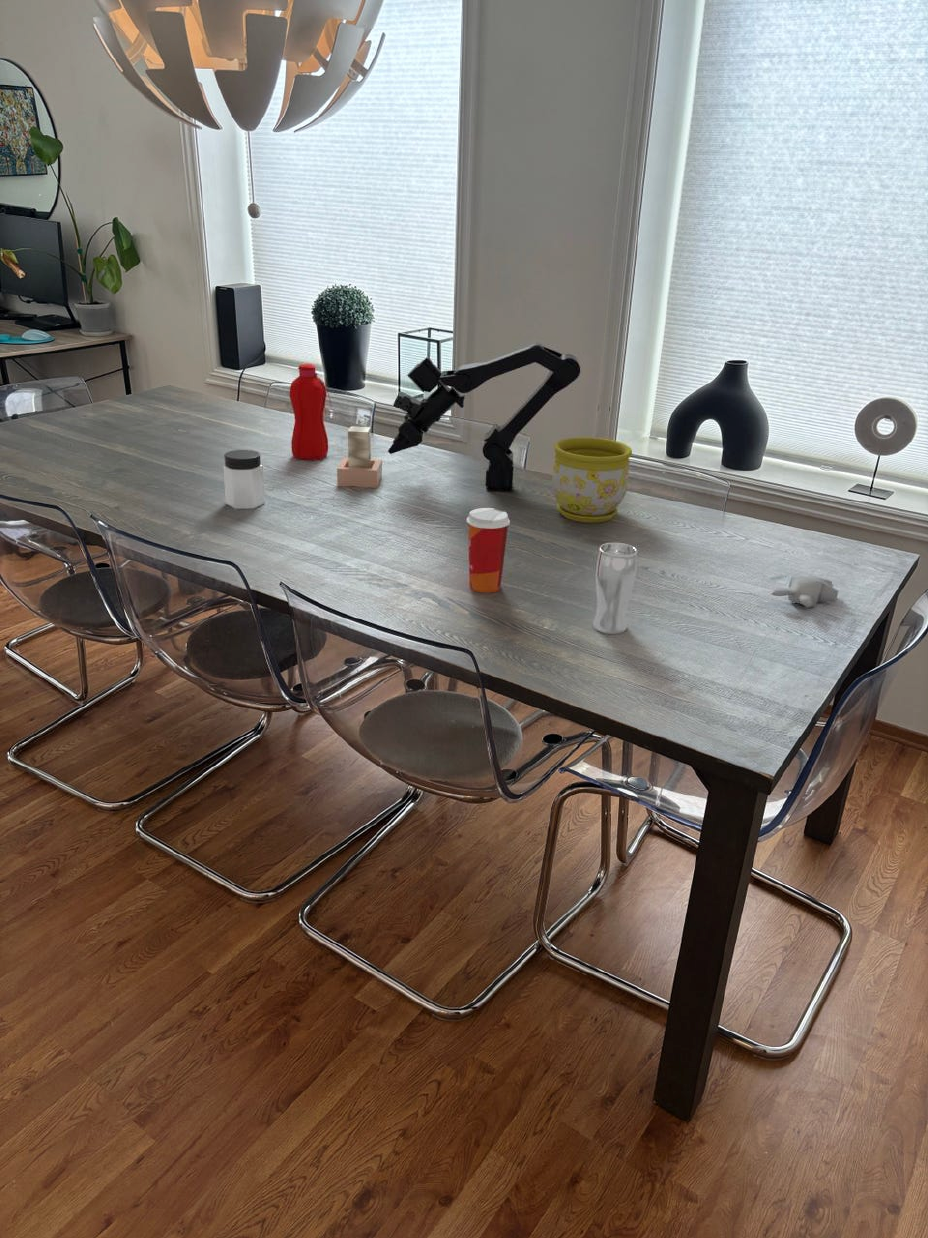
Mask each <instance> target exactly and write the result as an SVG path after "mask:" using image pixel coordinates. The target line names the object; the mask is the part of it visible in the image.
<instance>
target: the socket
mask: <svg viewBox="0 0 928 1238" xmlns="http://www.w3.org/2000/svg"><path fill="white" fill-rule="evenodd" d="M382 477H383V459H381V458H380V459H377V458H371V469H369V468H349V467H348V457H343V458H342V459H341V461H340V463H339V465H338V466H337V468H336V479H337V480H336V482H337V487H348V486H357V487H356V488H368V487H376V488H375V489H377V488H378V486H379V484H380V482H381V480H380V479H382ZM379 481H380V482H379Z"/></svg>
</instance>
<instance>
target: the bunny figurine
mask: <svg viewBox="0 0 928 1238" xmlns="http://www.w3.org/2000/svg"><path fill="white" fill-rule="evenodd" d="M771 595H772V596H774V597H775V596H776V597H783V596H787V599H788V601H790V602H791V601H792V602H794V603H796V604H799V605H803V606H804V607H805V606H806V607H810V608H814V606H815V605H816V604H817V605H818V603H820V602H822V603H823V602H825V603H828V602H829V603H831V602H833V603H835V602H836V601H837V599H838V595H839V590H837V589H836V588H834V583H833V581H831V580H829V579H826V578H823V577H818V576H816V575H812V574H809V576H808V577H807V576H803V575H797V576H791V578H790V579H789V585H788V588H787V587H786V588H782V587H781V588H778V587H776V588H775V589H774V590H773V591H772V593H771ZM818 601H820V602H818ZM792 602H791V603H792ZM817 605H816V606H817ZM816 606H815V607H816ZM806 607H805V608H806Z"/></svg>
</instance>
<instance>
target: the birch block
mask: <svg viewBox="0 0 928 1238" xmlns="http://www.w3.org/2000/svg"><path fill="white" fill-rule="evenodd" d="M371 429H372V428H371V426H350V427H349V428H348V430H347V458H348V467H349V468H369V469H371V459H372V453H371V452H372V449H371V447H372V443H371V442H372V440H371V439H372V438H371V436H372V435H371V434H372V433H371V431H372V430H371Z"/></svg>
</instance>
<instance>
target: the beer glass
mask: <svg viewBox="0 0 928 1238" xmlns="http://www.w3.org/2000/svg"><path fill="white" fill-rule="evenodd" d="M637 565H638V549H637V548H636V547H634V546H633V545H630V544H627V543H624V542H623V543H622V542H606V543H603V544H601V545H600V546H599V550H598V556H597V560H596V566H595V567H596V568H595V592H596V613H595V615H594V619H593V621H592V622H593V623H592V626H593V628H594V629H595V630H596V631H598V632H600V633H603V634H607V635H618V634H622V633H624V632H625V631H627V629H628V626H627V625H628V622H627V609H628V605H629V602H630V600H631V595H632V594H633V593H632V592H633V589H634V587H635V586H634V585H635V582H636V576H637V567H638V566H637Z"/></svg>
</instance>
